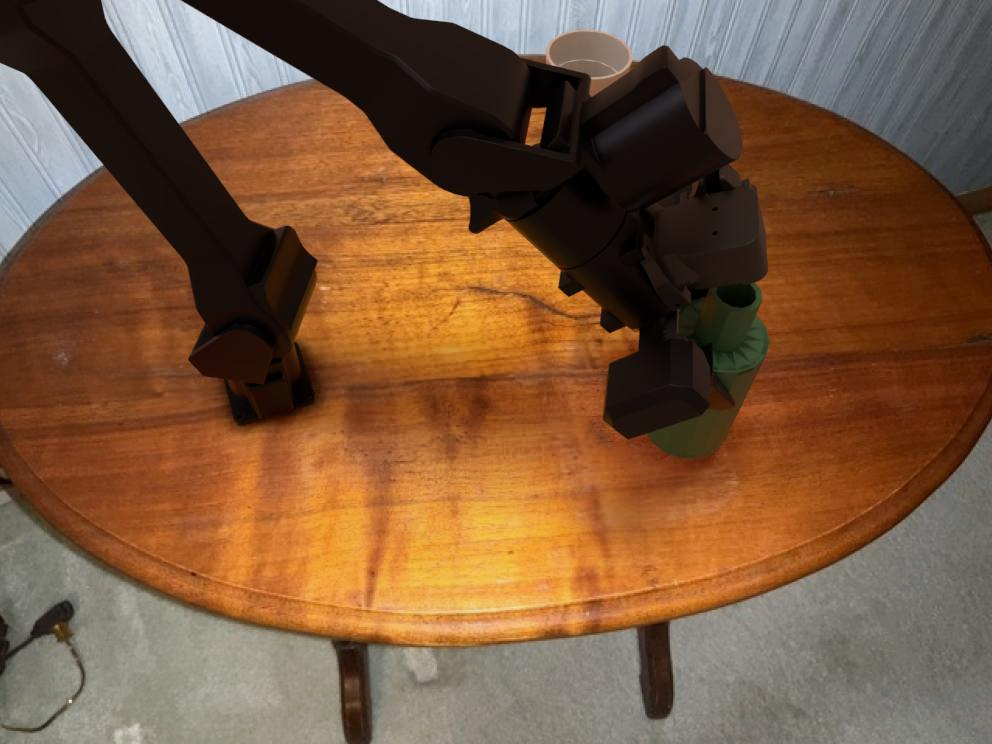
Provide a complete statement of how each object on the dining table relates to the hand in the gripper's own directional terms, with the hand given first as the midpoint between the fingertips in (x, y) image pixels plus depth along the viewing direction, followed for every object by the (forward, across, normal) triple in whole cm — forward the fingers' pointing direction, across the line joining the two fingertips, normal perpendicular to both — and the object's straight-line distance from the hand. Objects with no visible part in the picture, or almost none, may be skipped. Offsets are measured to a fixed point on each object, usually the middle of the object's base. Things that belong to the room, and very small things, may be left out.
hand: (727, 366), depth 57 cm
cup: (-2, +33, +16) cm, 37 cm away
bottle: (+4, 0, +6) cm, 8 cm away
